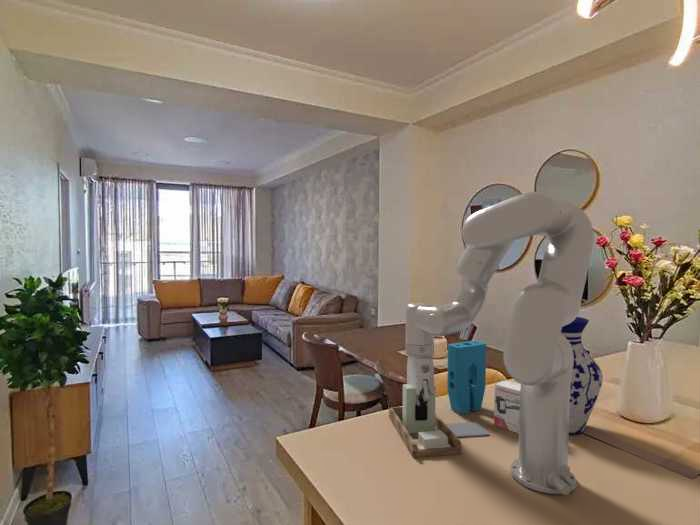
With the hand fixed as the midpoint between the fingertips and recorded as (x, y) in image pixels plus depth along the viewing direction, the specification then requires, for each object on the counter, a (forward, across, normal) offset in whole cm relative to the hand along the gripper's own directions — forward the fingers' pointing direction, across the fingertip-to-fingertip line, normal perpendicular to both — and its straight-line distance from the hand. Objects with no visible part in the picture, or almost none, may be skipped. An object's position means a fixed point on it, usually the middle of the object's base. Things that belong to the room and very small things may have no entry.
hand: (418, 416), depth 110 cm
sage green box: (+4, 0, 0) cm, 4 cm away
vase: (+4, -3, -40) cm, 40 cm away
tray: (+4, -2, 0) cm, 5 cm away
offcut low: (+4, -11, 0) cm, 12 cm away
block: (+4, +12, -19) cm, 23 cm away
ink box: (+4, -2, -26) cm, 26 cm away
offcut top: (+2, -10, 0) cm, 11 cm away
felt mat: (+4, -2, -12) cm, 13 cm away
